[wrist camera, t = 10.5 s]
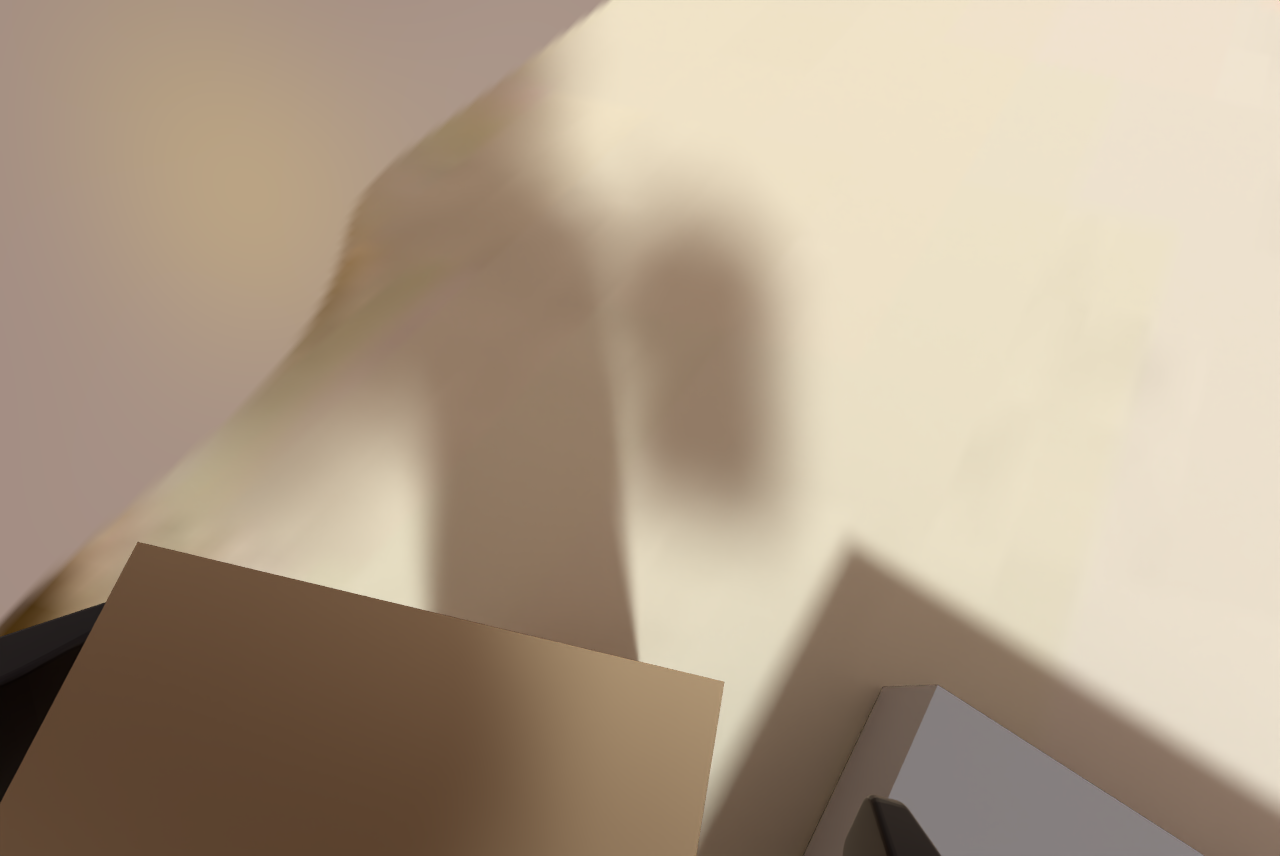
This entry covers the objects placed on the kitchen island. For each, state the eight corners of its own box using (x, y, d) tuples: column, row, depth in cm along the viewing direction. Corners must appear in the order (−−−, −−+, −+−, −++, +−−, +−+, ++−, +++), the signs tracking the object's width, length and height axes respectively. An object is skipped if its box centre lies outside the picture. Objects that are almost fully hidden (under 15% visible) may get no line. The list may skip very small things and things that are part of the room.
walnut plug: (606, 893, 14) (557, 1719, 3) (423, 845, 15) (-327, 1422, 3) (647, 692, 16) (723, 681, 4) (482, 652, 16) (136, 541, 5)
